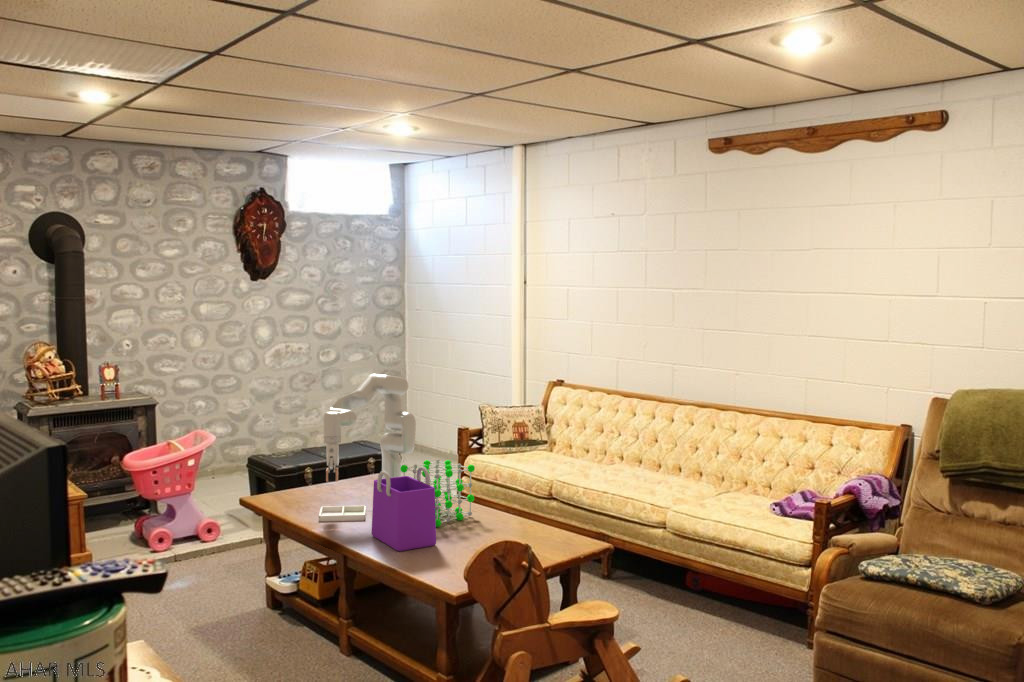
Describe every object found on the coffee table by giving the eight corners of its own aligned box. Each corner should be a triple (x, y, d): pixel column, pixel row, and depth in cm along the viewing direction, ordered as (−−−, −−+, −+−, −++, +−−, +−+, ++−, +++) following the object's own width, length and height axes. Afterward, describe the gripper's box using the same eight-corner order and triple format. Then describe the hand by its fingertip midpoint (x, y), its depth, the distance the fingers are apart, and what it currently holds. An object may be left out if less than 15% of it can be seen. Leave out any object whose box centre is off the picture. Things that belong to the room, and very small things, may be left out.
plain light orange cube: (338, 478, 388) (338, 467, 388) (337, 481, 383) (337, 470, 383) (326, 479, 387) (326, 468, 387) (326, 481, 382) (326, 470, 382)
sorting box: (365, 511, 396) (365, 505, 396) (365, 521, 381) (365, 514, 380) (321, 512, 393) (321, 506, 393) (318, 522, 378) (318, 515, 377)
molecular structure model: (475, 517, 391) (476, 464, 390) (437, 528, 372) (437, 473, 370) (437, 507, 407) (438, 456, 405) (398, 518, 387) (398, 464, 386)
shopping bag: (361, 538, 356) (361, 466, 354) (403, 528, 371) (403, 459, 369) (403, 554, 336) (404, 478, 334) (446, 543, 351) (447, 470, 349)
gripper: (339, 442, 376) (339, 484, 377) (341, 435, 393) (341, 475, 394) (322, 443, 375) (322, 484, 376) (324, 436, 392) (324, 475, 393)
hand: (332, 479), depth 385 cm, fingers closed on plain light orange cube, 4 cm apart
